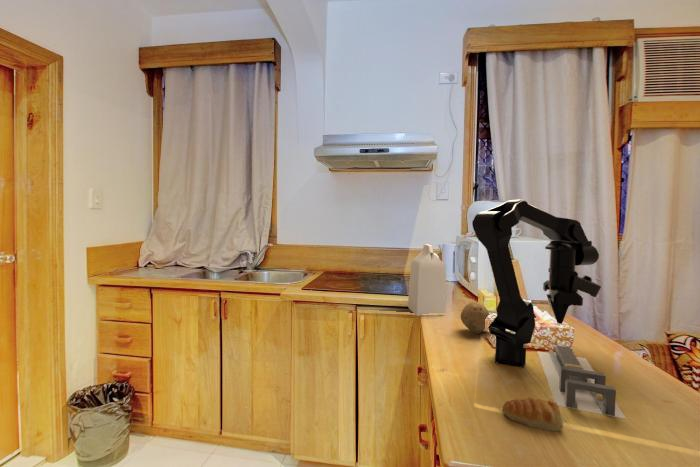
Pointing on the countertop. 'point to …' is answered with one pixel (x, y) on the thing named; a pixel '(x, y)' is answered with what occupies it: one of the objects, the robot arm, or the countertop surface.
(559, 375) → the base with arch frames
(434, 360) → the countertop surface
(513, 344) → the robot arm
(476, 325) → the brown coconut
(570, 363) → the long grey bar
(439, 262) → the milk
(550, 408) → the pastry
